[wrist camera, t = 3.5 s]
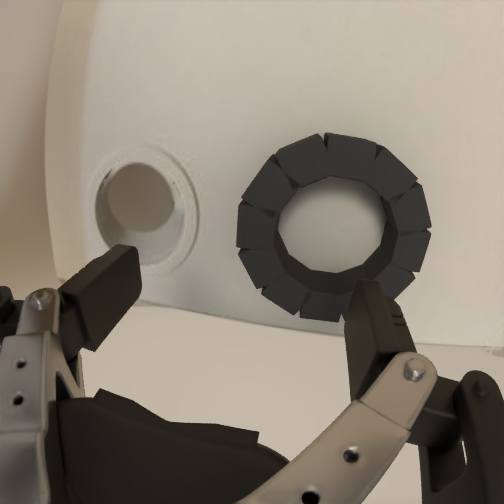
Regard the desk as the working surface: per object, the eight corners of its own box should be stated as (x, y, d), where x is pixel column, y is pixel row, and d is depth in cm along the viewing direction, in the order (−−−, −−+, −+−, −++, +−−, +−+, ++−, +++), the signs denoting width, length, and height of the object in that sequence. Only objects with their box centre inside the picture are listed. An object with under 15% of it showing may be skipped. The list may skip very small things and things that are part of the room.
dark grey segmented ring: (240, 286, 20) (232, 308, 18) (252, 124, 15) (243, 125, 13) (390, 305, 19) (398, 328, 17) (429, 154, 14) (448, 160, 12)
